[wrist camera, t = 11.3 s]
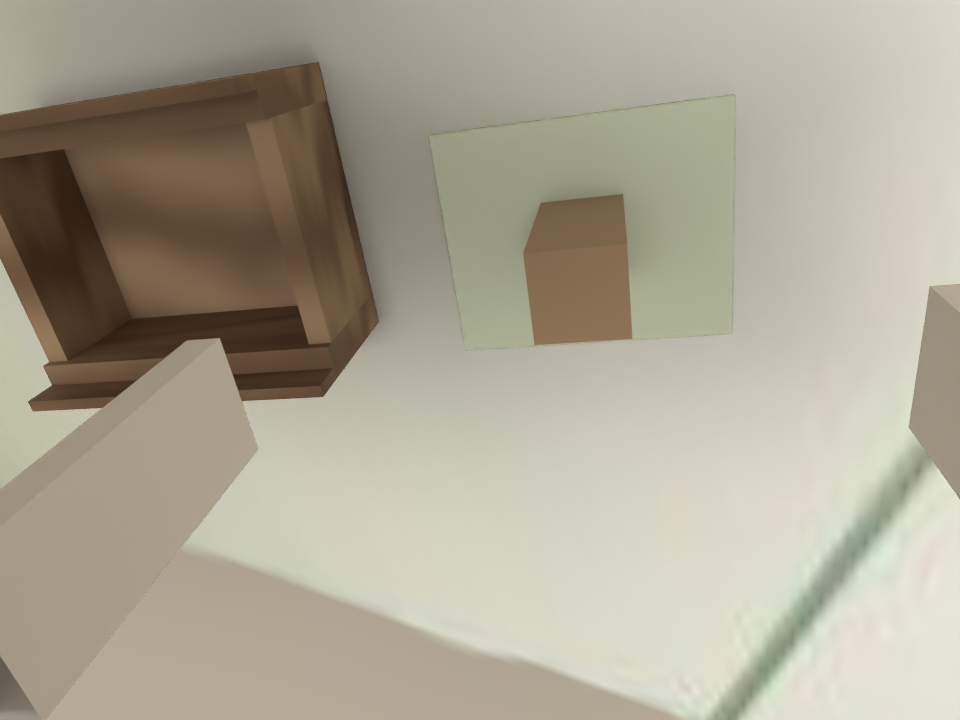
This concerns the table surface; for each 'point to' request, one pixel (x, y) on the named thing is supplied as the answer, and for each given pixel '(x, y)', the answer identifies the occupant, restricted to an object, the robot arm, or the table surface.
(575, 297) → the lid
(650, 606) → the table surface
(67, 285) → the walnut box
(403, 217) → the table surface
